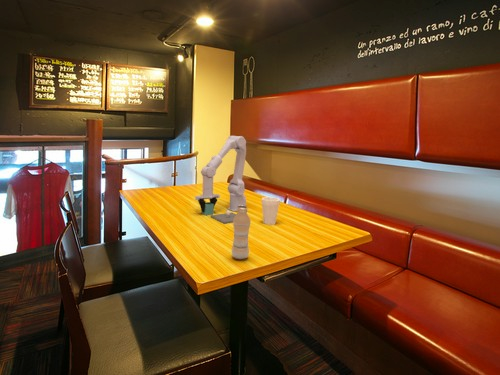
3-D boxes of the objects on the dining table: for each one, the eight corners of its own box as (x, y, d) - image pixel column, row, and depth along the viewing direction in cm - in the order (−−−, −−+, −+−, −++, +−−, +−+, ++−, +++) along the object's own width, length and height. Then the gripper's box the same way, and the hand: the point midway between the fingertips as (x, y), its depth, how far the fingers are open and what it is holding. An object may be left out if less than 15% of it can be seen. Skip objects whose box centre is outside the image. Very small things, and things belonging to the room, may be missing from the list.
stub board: (231, 214, 183) (232, 206, 182) (246, 220, 172) (246, 212, 171) (210, 217, 174) (210, 209, 173) (224, 223, 163) (224, 215, 162)
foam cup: (280, 222, 171) (281, 198, 169) (275, 226, 163) (277, 201, 160) (263, 219, 174) (264, 196, 172) (258, 224, 166) (259, 199, 163)
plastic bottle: (238, 253, 126) (240, 203, 122) (252, 257, 122) (254, 207, 118) (227, 258, 121) (229, 206, 117) (242, 263, 117) (244, 210, 113)
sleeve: (208, 212, 184) (209, 202, 183) (213, 214, 180) (213, 203, 179) (201, 213, 181) (201, 203, 180) (205, 215, 178) (205, 204, 176)
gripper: (199, 190, 171) (199, 214, 173) (222, 188, 179) (222, 211, 182) (193, 187, 176) (193, 211, 179) (216, 185, 185) (215, 208, 187)
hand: (207, 211), depth 181 cm, fingers closed on sleeve, 5 cm apart
